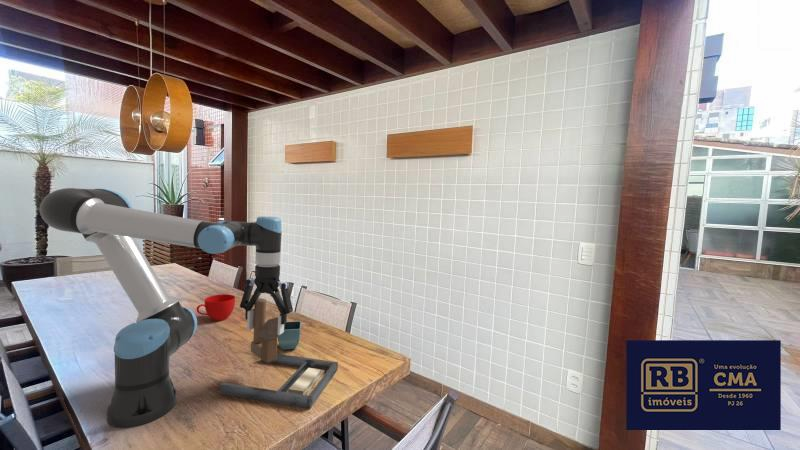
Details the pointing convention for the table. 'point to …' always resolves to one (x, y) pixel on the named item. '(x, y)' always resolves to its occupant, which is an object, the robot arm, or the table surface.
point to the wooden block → (264, 333)
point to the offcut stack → (306, 381)
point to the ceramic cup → (218, 306)
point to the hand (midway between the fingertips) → (265, 331)
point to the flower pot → (290, 335)
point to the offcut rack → (286, 383)
